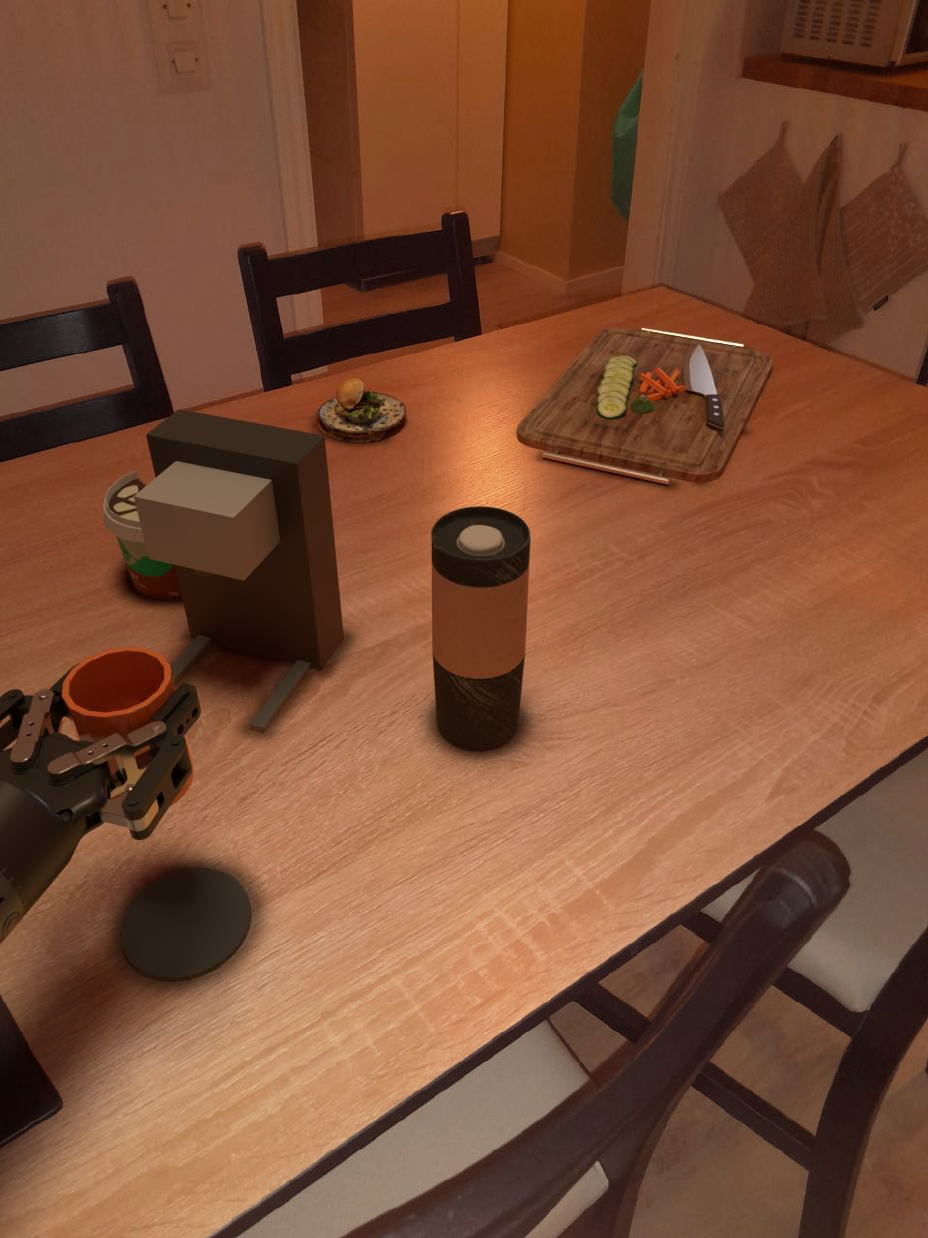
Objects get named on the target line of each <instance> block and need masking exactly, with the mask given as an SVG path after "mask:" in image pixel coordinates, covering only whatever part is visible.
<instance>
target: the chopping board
mask: <svg viewBox="0 0 928 1238" xmlns="http://www.w3.org/2000/svg"><path fill="white" fill-rule="evenodd" d="M773 364H774V359H773V358H772V357H771V356H770V355H769V354H767V353H765V352H762V351H759V350H755V349H749V348H745V344H744V343H739V342H733V341H726V340H720V339H716V338H715V339H714V338H708V337H703V336H697V335H692V334H686V333H685V334H684V333H679V332H672V331H667V330H662V329H661V330H660V329H657V328H656V329H655V328H649V327H645V326H644V327H641V329H640V330H637V329H630V328H626V327H625V328H623V327H608V328H605V329H602V330H600V331H599V332H598V333H596V334H595V336H594V337H593V338H592V339H591V341H589V342H588V344H587V345H586V346H585V347H584V348H583V349H582V351H581V352H580V353H579V354H578V355H577V357H575V359H574V360H573V361H572V362H571V363H570V364H569V365H568V367H567V368H566V369H565V371H563V372H562V374H561V375H560V376H559V377H558V378H557V380H555V382H554V383H553V384H552V385H551V386H550V387H549V389H547V391H546V392H545V393H544V394H543V395H542V397H541V398H540V399H539V400H538V401H537V402H536V403H535V404H534V406H533V407H532V408H531V409H529V411H528V412H527V414H526V415H525V416H524V417H523V418H522V419H521V420H520V422H518V424H517V427H516V438H517V440H518V442H519V443H520V444H522V445H523V446H526V447H529V448H532V449H535V450H540V451H543V452H542V458H543V459H548V460H553V461H557V462H560V463H566V464H570V465H576V466H581V467H585V468H588V469H593V470H599V471H603V472H608V473H612V474H617V475H621V476H624V477H625V476H626V477H630V478H635V479H639V480H644V481H649V482H652V483H658V484H662V485H667V486H668V485H669V484H670V480H671V479H674V480H679V481H685V482H688V483H697V484H702V483H710V482H713V481H715V480H718V479H719V478H720V477H721V476H722V475H723V473H724V470H725V469H726V466H727V464H728V463H729V460H730V458H731V456H732V454H733V452H734V449H736V448H735V447H736V446H737V443H738V442H739V439H740V437H741V435H742V433H743V431H744V428H745V427H746V425H747V422H748V421H749V418H750V416H751V414H752V412H753V411H754V408H755V405H756V404H757V401H758V400H759V397H760V395H761V393H762V391H763V389H764V387H765V385H766V384H767V381H768V379H769V377H770V374H771V372H772V371H773V370H772V369H773Z"/></svg>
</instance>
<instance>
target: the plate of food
mask: <svg viewBox="0 0 928 1238" xmlns="http://www.w3.org/2000/svg"><path fill="white" fill-rule="evenodd" d="M337 374H338V376H339V378H340V379H341V380H342V382H341V383H339V384H338V386H337V388H336V392H335V397H332V398H330V399H328V400H326V401H324V402H323V403H322V404H321V405H320V407H319V408H318V411H317V414H316V415H317V426H318V428H319V430H320V431H321V432H322V433H323V434H324V435H326V436H328V437H330V438H332V439H335V440H338V441H343V442H350V443H370V442H372V441H375V442H377V441H382V440H383V438H384V436H385V434H386V431H388V430H390V429H392V428H394V427H397V426H398V425H399V424H400V422H401V421H402V420H403V419H404V418H405V416H406V414H407V408H406V405H405V403H403V401H400V400H399V399H397V398H396V397H394V396H391V395H388V394H386V393H382V392H379V391H378V392H377V391H373V390H372V391H371V390H370V389H365V386H364V382H363V381H362V379H359V378H348V379H345V380H343V378H342V377H341V375H340V373H339V371H337Z"/></svg>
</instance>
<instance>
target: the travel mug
mask: <svg viewBox="0 0 928 1238" xmlns="http://www.w3.org/2000/svg"><path fill="white" fill-rule="evenodd" d="M430 533H431V534H430V539H431V544H430V545H431V547H430V548H431V650H432V652H431V653H432V669H433V684H434V685H433V686H434V697H435V698H434V699H435V701H434V703H435V715H436V724H437V729H438V732H439V733H440V735H441V736H442V738H443V739H444V740H445V741H446V742H447V743H448V744H450V745H452V746H454V747H455V748H458V749H459V750H460V749H461V750H463V751H469V752H487V751H488V752H489V751H492V750H495V749H498V748H501V747H503V746H504V745H506V744H507V743H508V742H510V741H511V740H512V739H513V738H514V736H515V735H516V733H517V730H518V726H519V719H520V711H521V710H520V709H521V702H522V701H521V700H522V691H523V690H522V689H523V681H524V670H525V669H524V668H525V659H526V649H527V629H528V628H527V626H528V625H527V623H528V607H529V606H528V604H529V603H528V602H529V580H530V579H529V578H530V559H531V540H532V539H531V530H530V528H529V526H528V524H527V522H526V521H525V520H523V519H522V517H521V516H519V515H517V514H516V513H513V512H511V511H509V510H506V509H503V508H499V507H494V506H483V505H482V506H481V505H479V506H478V505H477V506H467V507H461V508H458V509H455V510H452V511H450V512H447V513H446V514H443V515H442V516H441V517H440V518H439V519H438V520H436V522H434V524H433V526H432V528H431V532H430Z"/></svg>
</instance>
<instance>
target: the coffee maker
mask: <svg viewBox="0 0 928 1238" xmlns="http://www.w3.org/2000/svg"><path fill="white" fill-rule="evenodd" d="M145 437H146V442H147V446H148V451H149V455H150V460H151V464H152V468H153V473H154V477H155V478H154V479H153V480H151V481H150V482H149V483H148V484H146V486H145V487H144V488H143V489H142V490H141V491H139V492H138V493H137V494H136V495H135V496H134V500H135V504H136V508H137V512H138V516H139V521H140V525H141V529H142V533H143V537H144V541H145V545H146V549H147V554H148V558H149V559H153V560H157V561H161V562H166V563H170V564H174V565H175V568H176V572H177V577H178V581H179V586H180V590H181V594H182V599H181V600H182V603H183V607H184V612H185V615H186V622H187V625H188V631H189V635H190V638H191V639H193V641H192V642H191V643H190V644H189V645H188V646H187V648H185V650H184V651H183V652H182V653H181V654H180V655H179V656H178V657H177V659H175V661H174V662H173V663H172V664H171V665H170V666H171V671H172V675H173V679H174V683H175V686H176V685H178V683H179V682H180V681H181V680H182V679H183V677H185V675H186V674H187V673H188V672H189V671H190V670H191V668H192V667H193V666H194V665H195V664H196V663H197V662H198V661H199V659H200V658H201V657H202V656H203V655H204V654H205V653H206V652H207V650H208V649H209V648H210V647H211V646H212V644H214V645H217V646H221V647H225V648H229V649H233V650H237V651H241V652H245V653H249V654H253V655H256V656H261V657H265V658H269V659H273V660H277V661H281V662H285V663H289V664H293V665H292V666H291V668H290V669H289V671H288V672H287V673H286V675H285V676H284V677H283V679H282V680H281V681H280V683H278V685H277V686H276V688H275V689H274V690H273V692H272V693H271V694H270V696H269V697H268V699H266V701H265V703H264V704H263V705H262V706H261V708H260V709H259V710H258V712H257V713H256V714H255V715H254V717H253V718H252V719H251V721H250V722H249V730H251V731H255V732H258V733H262V734H265V733H266V732H267V730H268V729H269V728H270V726H271V725H272V724H273V722H274V721H275V719H276V718H277V717H278V715H279V714H280V713H281V712H282V710H283V708H284V707H285V705H286V704H287V703H288V701H289V700H290V699H291V697H292V696H293V695H294V693H295V692H296V690H298V688H299V686H300V685H301V684H302V683H303V681H304V679H305V678H306V677H307V676H308V674H309V672H310V671H311V670H312V669H313V670H317V671H320V672H321V671H322V670H323V669H324V668H325V667H326V665H327V664H328V662H329V661H330V660H331V658H332V657H333V656H334V654H335V652H336V651H337V650H338V648H339V647H340V646H341V644H342V642H343V641H344V640H345V636H344V625H343V624H344V623H343V615H342V601H341V592H340V583H339V573H338V572H339V571H338V561H337V552H336V551H337V550H336V540H335V539H336V538H335V531H334V530H335V529H334V520H333V509H332V498H331V488H330V477H329V476H330V475H329V465H328V457H327V456H328V455H327V446H326V445H327V444H326V437H325V434H319V433H313V432H307V431H302V430H296V429H291V428H285V427H280V426H274V425H268V424H264V423H257V422H253V421H252V422H251V421H246V420H241V419H235V418H230V417H225V416H220V415H213V414H209V413H202V412H197V411H191V410H185V409H181V408H178V409H177V410H176V411H175V412H173V413H172V414H171V415H169V416H168V417H166V418H165V419H164V420H163V421H161V422H160V423H159V424H158V425H156V426H155V427H153V428H152V429H150V431H149V432H147V433H146V434H145Z"/></svg>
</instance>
